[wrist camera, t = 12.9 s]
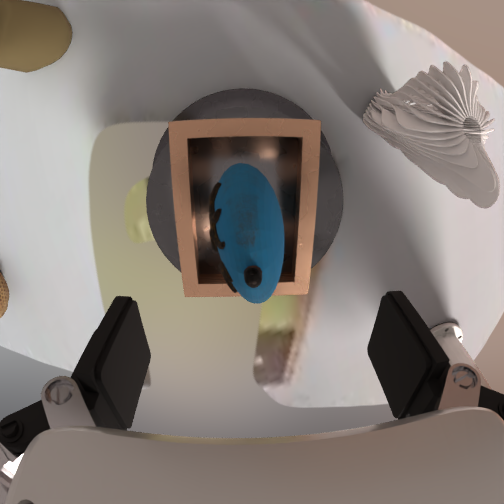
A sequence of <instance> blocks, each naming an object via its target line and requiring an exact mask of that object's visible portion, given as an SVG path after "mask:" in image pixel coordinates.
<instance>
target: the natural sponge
mask: <svg viewBox="0 0 504 504" xmlns="http://www.w3.org/2000/svg"><path fill="white" fill-rule="evenodd" d="M8 300H9V289H8V286H7V283H6V281H5V279H4V277H3V275H2V274H1V273H0V318H1V317H2V316H3V315H4V313H5V311H6V310H7V307H8Z"/></svg>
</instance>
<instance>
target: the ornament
mask: <svg viewBox="0 0 504 504" xmlns="http://www.w3.org/2000/svg"><path fill="white" fill-rule="evenodd" d="M209 222H210V230H209V235H210V240H211V245H212V248H213V250H214V251H216V252H219V255H220V258H221V262H220V263H219V266H218V267H219V269H220V271H221V273H222V275H223V277H224V279H225V281H226V283H227V285H228V286H229V288H230V289H231V290H232V292H234V293H237V292H239V294H240V295H241V296H242V297H243V298H245V299H246V300H247V301H249V302H252V303H262V302H265V301H266V300H267V299H269V298H270V297H271V295H272V294H273V292H274V290H275V289H276V286H277V284H278V281H279V278H280V275H281V270H282V264H283V258H284V241H285V240H284V224H283V219H282V213H281V210H280V206H279V203H278V200H277V197H276V195H275V192H274V190H273V188H272V186H271V185H270V183H269V181H268V180H267V178H266V177H265V176H264V175H263V174H262V173H261V172H260V171H259V170H258V169H257V168H255V167H253V166H251V165H249V164H245V163H238V164H235V165H232V166H230V167H229V168H228V169H227V170H226V171H225V172H224V173H223V175H222V176H221V178H220V180H219V182H218V183H216V184H215V186H214V188H213V190H212V192H211V193H210V197H209Z"/></svg>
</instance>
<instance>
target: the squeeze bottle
mask: <svg viewBox="0 0 504 504" xmlns="http://www.w3.org/2000/svg"><path fill="white" fill-rule="evenodd" d="M71 39H72V28H71V25H70V23H69V22H68V20H67V18H66V17H65V15H64V13H63V12H62V11H61V10H60V9H59V8H58V7H54V6H50V5H45V4H40V3H34V2H29V1H22V0H0V68H6V69H11V70H16V71H21V72H26V73H27V72H31V71H35V70H38V69H40V68H43V67H45V66H47V65H50V64H52V63H54V62H55V61H57V60H58V59H60V58H61V57H62V56H63V54H64V53H65V52H66V51H67V49H68V47H69V45H70V43H71Z"/></svg>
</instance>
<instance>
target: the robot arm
mask: <svg viewBox="0 0 504 504" xmlns="http://www.w3.org/2000/svg"><path fill="white" fill-rule="evenodd" d="M462 338H463V333H462V330H461V328H460V327H459V326H458V325H457V324H455V323H444V324H440V325H438V326H436V327H434V328H432V329H429V328H428V327H427V325H426V324H425V322H424V321H423V319H422V318H421V317H420V315H419V314H418V312H417V311H416V310H415V308H414V307H413V306H412V304H411V303H410V301H409V300H408V299H407V297H406V296H405V295H404V293H403V292H402V291H390V292H387V293H386V295H385V296H383V297H382V299H381V303H380V306H379V310H378V314H377V317H376V321H375V324H374V328H373V331H372V334H371V338H370V341H369V344H368V349H367V350H368V355H369V358H370V360H371V362H372V365H373V367H374V369H375V372H376V374H377V376H378V379H379V381H380V384H381V386H382V388H383V391H384V393H385V396H386V398H387V401H388V403H389V406H390V408H391V411H392V413H393V416H394V417H395V418H398V420H394V421H390V422H385V423H381V424H376V425H371V426H365V427H360V428H354V429H348V430H341V431H334V432H326V433H319V434H309V435H299V436H287V437H269V438H201V437H183V436H171V435H161V434H151V433H142V432H134V431H127V428H131V426H132V422H133V419H134V415H135V411H136V407H137V404H138V400H139V397H140V393H141V390H142V386H143V383H144V379H145V376H146V373H147V369H148V366H149V363H150V358H151V354H150V349H149V346H148V342H147V339H146V335H145V332H144V328H143V325H142V321H141V317H140V313H139V310H138V305H137V302H136V301H134V300H132V298H131V297H126V296H116V297H115V299H114V300H113V302H112V304H111V306H110V308H109V309H108V311H107V312H106V314H105V316H104V318H103V320H102V321H101V323H100V325H99V327H98V329H96V330H95V332H94V333H93V335H92V337H91V339H90V341H89V343H88V344H87V346H86V348H85V350H84V352H83V354H82V356H81V358H80V360H79V362H78V364H77V366H76V368H75V370H74V372H73V374H72V376H71V378H70V377H66V376H59V377H55V378H53V379H51V380H50V381H48V382H47V383H46V384H45V386H44V387H43V389H42V392H41V399H42V400H40V401H38V402H36V403H34V404H32V405H30V406H28V407H25V408H23V409H21V410H19V411H17V412H15V413H13V414H10V415H8V416H6V417H5V418H3V420H1V422H0V504H504V394H501V393H499V392H496V391H494V390H492V388H491V387H490V385H489V383H488V382H487V380H486V379H485V377H484V376H483V374H482V373H481V371H480V370H479V368H478V367H477V365H476V364H475V362H474V361H473V359H472V358H471V356H470V355H469V354H468V352H467V351H466V349H465V348H464V347H463V345H462V344H461V342H462Z"/></svg>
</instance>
